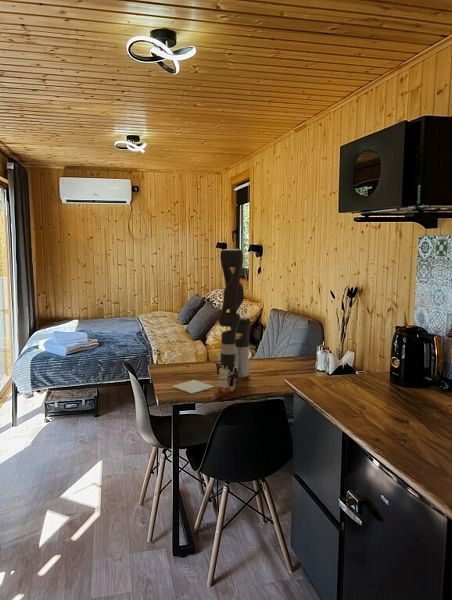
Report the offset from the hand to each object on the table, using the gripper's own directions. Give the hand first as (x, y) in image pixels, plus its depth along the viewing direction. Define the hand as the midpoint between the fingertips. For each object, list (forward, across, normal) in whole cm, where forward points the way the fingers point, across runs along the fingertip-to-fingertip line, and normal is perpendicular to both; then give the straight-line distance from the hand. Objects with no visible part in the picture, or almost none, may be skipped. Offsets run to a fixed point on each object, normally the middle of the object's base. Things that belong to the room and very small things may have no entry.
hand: (226, 384), depth 235 cm
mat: (+3, +15, +9) cm, 18 cm away
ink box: (+3, 0, 0) cm, 3 cm away
